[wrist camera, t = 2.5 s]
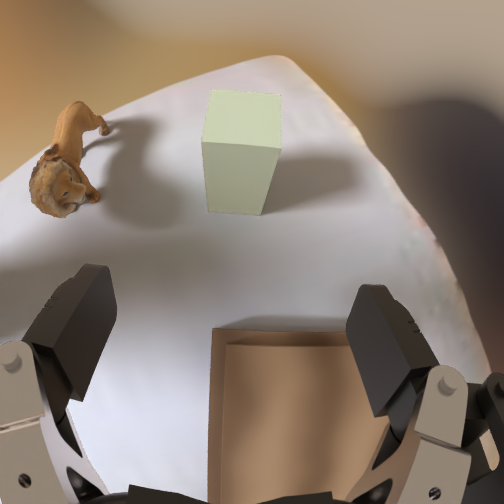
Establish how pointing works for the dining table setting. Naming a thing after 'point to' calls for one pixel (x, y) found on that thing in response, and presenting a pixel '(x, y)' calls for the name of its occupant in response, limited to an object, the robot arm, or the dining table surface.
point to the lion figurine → (65, 164)
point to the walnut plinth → (286, 416)
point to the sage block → (240, 149)
